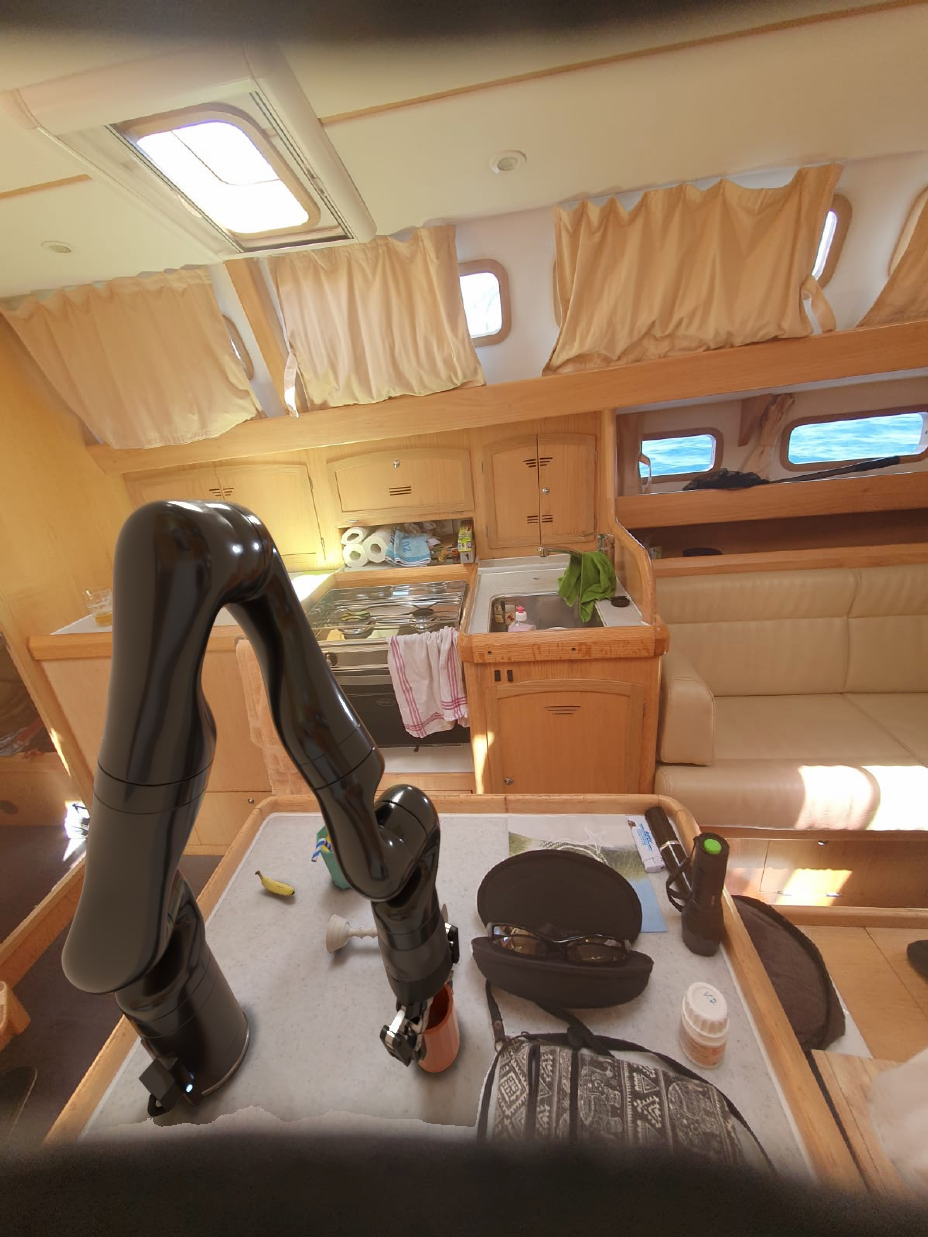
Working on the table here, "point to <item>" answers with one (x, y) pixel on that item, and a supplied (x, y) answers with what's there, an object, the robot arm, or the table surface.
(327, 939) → the chalice
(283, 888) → the banana
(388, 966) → the robot arm
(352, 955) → the table surface
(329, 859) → the cup
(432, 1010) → the tumbler
